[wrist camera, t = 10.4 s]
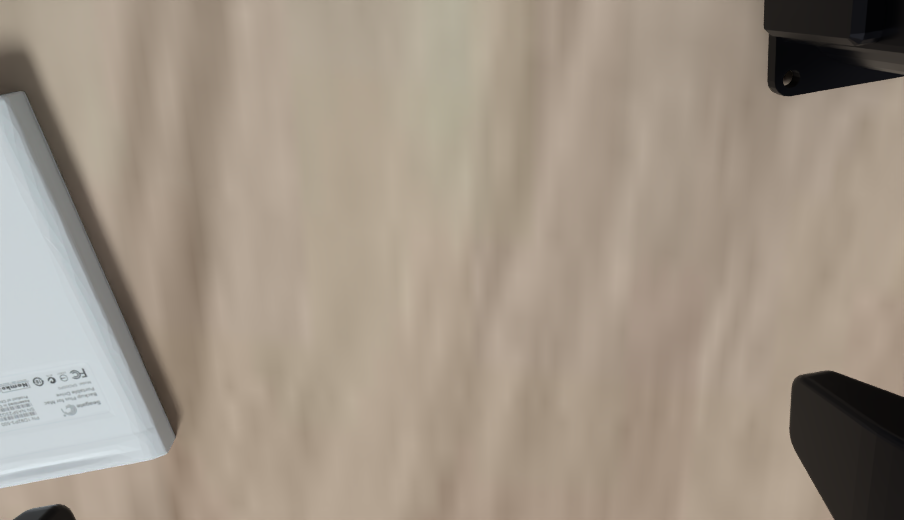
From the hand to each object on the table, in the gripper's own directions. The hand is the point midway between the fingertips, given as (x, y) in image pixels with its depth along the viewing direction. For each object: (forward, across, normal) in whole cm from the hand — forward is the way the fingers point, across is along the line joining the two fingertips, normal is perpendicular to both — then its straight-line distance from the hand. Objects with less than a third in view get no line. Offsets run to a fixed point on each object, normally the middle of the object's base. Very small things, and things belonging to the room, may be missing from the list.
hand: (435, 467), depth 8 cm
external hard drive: (+14, +14, +2) cm, 20 cm away
